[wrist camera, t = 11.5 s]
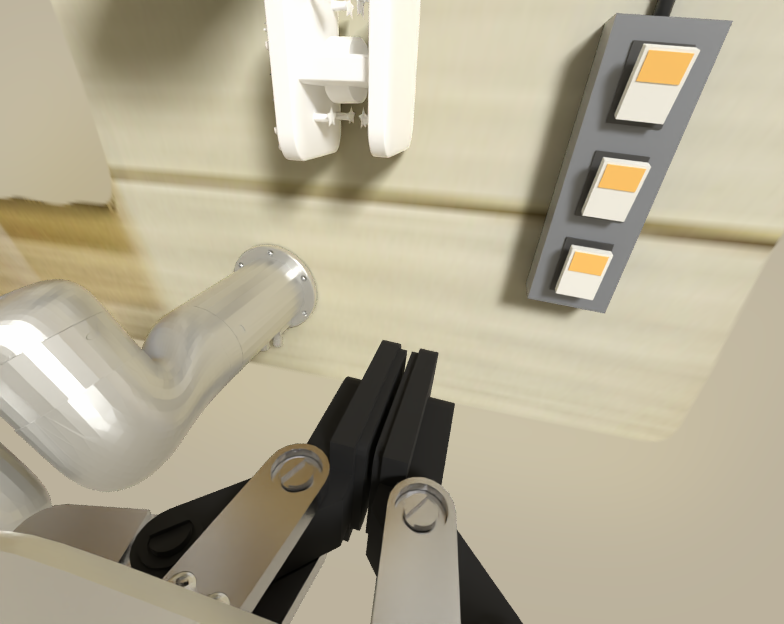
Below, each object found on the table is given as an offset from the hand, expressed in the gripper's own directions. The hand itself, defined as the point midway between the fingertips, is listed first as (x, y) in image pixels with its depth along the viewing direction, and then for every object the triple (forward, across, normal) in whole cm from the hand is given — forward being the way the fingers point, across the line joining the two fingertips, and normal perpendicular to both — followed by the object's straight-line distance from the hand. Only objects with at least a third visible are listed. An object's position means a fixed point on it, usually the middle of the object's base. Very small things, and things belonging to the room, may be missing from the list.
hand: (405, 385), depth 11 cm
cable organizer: (+35, +13, -9) cm, 39 cm away
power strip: (+35, -12, -7) cm, 38 cm away
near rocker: (+30, -12, -10) cm, 33 cm away
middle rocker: (+30, -12, -2) cm, 32 cm away
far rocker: (+30, -12, +6) cm, 32 cm away
